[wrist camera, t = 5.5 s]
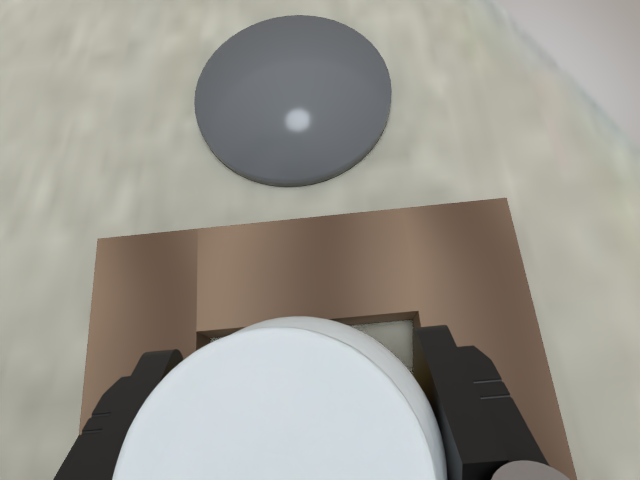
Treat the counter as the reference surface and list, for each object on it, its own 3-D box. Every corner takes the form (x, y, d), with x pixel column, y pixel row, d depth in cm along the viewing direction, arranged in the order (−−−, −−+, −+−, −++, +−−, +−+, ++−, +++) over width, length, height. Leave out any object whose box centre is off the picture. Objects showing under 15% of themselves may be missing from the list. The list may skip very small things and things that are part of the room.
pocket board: (80, 745, 12) (44, 790, 11) (118, 252, 17) (97, 238, 16) (609, 710, 12) (645, 752, 10) (493, 215, 16) (506, 197, 15)
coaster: (197, 196, 18) (192, 189, 17) (200, 37, 20) (195, 26, 20) (403, 175, 17) (404, 167, 17) (377, 16, 20) (377, 5, 19)
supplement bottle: (311, 582, 13) (226, 983, 4) (201, 432, 15) (-38, 477, 6) (439, 445, 14) (603, 520, 5) (324, 319, 16) (290, 203, 7)
